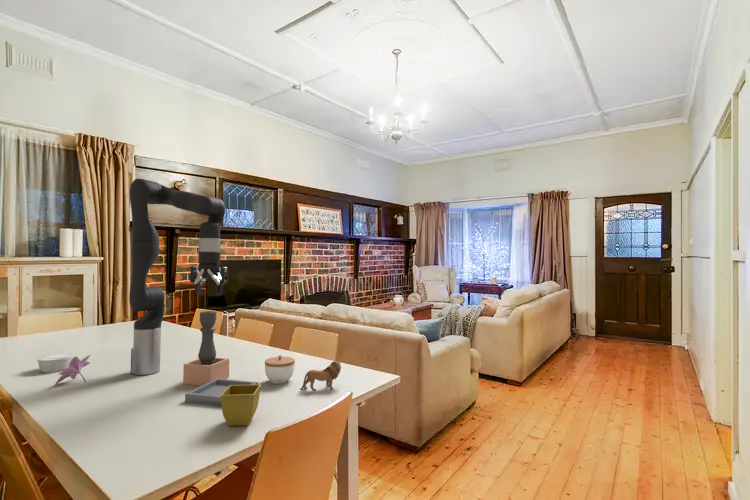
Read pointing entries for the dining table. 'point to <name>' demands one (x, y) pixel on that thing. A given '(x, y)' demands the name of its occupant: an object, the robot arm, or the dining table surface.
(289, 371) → the lidded jar
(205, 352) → the candle holder
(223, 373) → the square copper bin
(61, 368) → the ramekin
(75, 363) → the lily
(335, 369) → the lion figurine
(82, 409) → the dining table surface
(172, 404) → the dining table surface
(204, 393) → the tray
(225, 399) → the flower pot
